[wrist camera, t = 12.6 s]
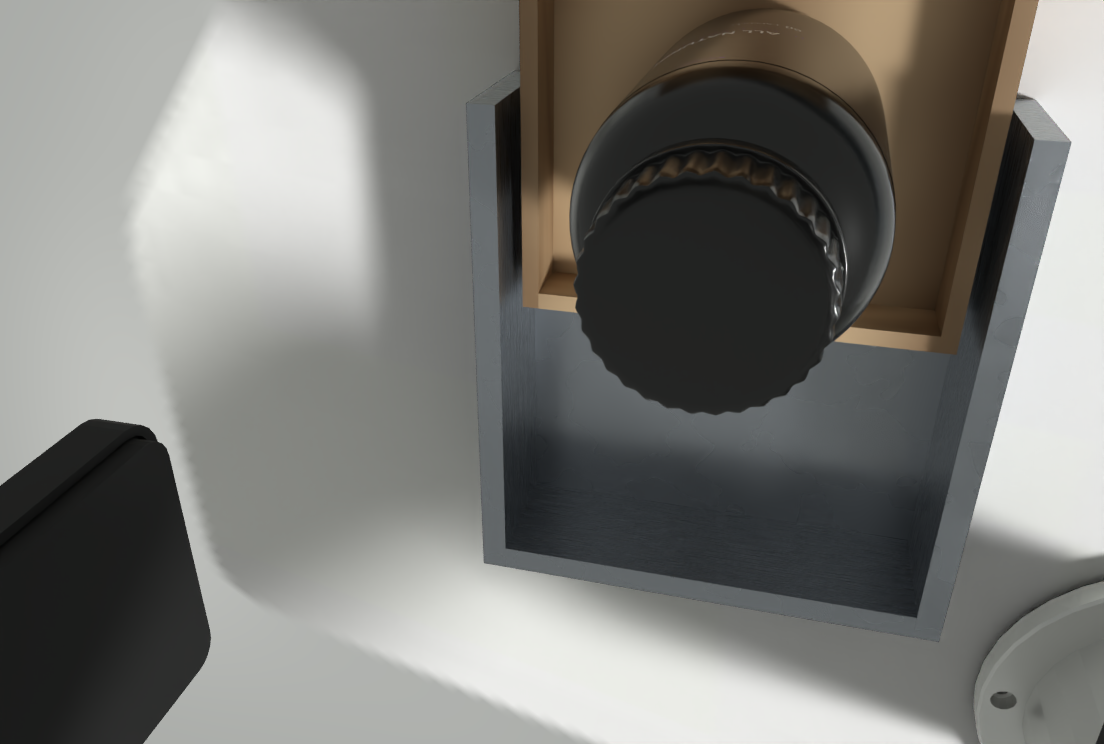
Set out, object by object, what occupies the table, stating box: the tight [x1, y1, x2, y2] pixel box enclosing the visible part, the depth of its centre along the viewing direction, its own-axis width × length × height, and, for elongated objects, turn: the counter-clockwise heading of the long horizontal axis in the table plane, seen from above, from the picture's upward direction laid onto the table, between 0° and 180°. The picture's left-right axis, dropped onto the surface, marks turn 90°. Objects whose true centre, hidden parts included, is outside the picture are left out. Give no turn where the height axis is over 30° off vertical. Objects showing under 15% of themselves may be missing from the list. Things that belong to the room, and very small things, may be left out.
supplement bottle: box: [569, 8, 896, 416], centre depth 22 cm, size 7×7×12 cm
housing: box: [466, 71, 1071, 642], centre depth 30 cm, size 15×16×5 cm
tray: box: [519, 0, 1039, 355], centre depth 24 cm, size 15×16×7 cm
